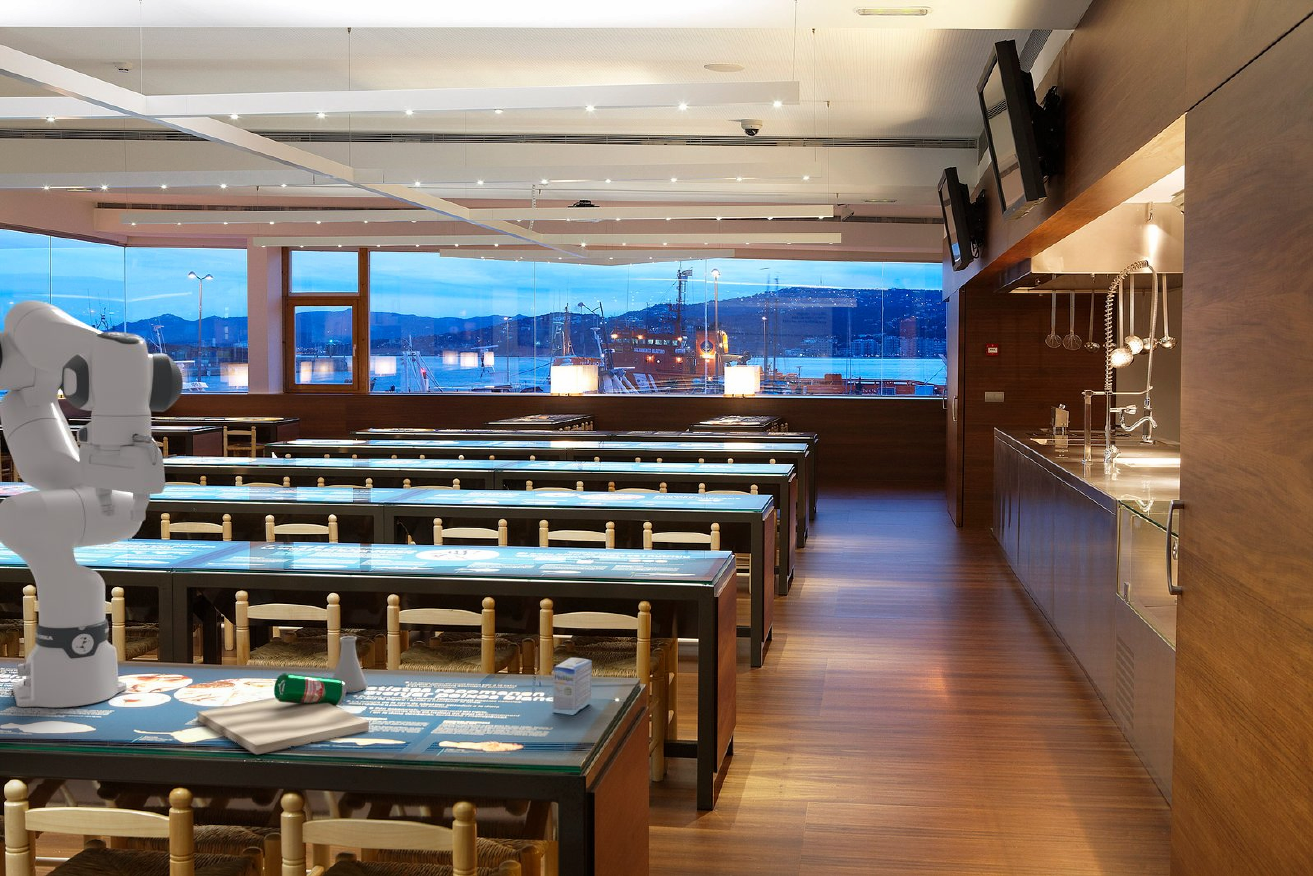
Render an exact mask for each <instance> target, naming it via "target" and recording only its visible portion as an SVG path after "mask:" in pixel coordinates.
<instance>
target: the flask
mask: <svg viewBox="0 0 1313 876" xmlns="http://www.w3.org/2000/svg"><path fill="white" fill-rule="evenodd" d="M357 639H358V638H357V636H352V635H349V636H347V635H346V636H341V637H339V639H338V640H339V642H340V652H339V658H338V661H337V665H336V668H335V671H334V674H333V675H332V676H333V677H332V678H338V679H339V680H340V681H343V682H344V683H345V685H346V693H356V692H360V691H362V690H363V691H364V690H365V689H366V688H367V686H368V683H367V680H366V678H365V674H364V671H363V670H362V667H361V665H360V661H359V658H358V655H357V650H356V641H357Z"/></svg>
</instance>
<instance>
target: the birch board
mask: <svg viewBox="0 0 1313 876" xmlns="http://www.w3.org/2000/svg"><path fill="white" fill-rule="evenodd" d="M196 714H197V715H196V716H197V718H196V719H197V721H198V722H200V723H202V724H203V725H205V726H207V727H208V728H210V729H212V730H213V731H215V732H217V733H218V732H220V733H221V734H220V733H219V734H220V735H222V736H223V737H226V738H227V737H228V738H227V739H229V738H230V739H231V740H230V739H229V740H230V741H232V742H235V743H236V742H237V743H238V744H237V743H236V744H237V745H239V746H241V747H243V748H244V749H246V750H247V751H249V752H250V753H253V754H254V755H261V754H265V753H269V752H270V753H271V752H275V751H280V750H284V749H288V748H289V749H290V748H292V747H291V746H294V747H298V746H303V745H307V744H311V742H313V743H317V742H321V741H326V740H330V739H329V738H331V739H335V738H334V737H336V738H340V737H346V736H349V735H354V734H359V733H362V732H363V733H364V732H368V731H369V730H370V728H369V727H370V724H369V723H370V722H369V721H368V720H366V719H364V718H362V717H361V716H360V717H359V716H357V715H355V714H353V713H350V712H348V711H346V710H344V709H342V708H340V707H338V706H337V705H336V706H333V705H331V704H329V703H322V704H298V703H287V702H279V701H278V700H277V699H276V698H275V697H271V698H265V699H258V700H254V701H253V700H252V701H249V702H243V703H239V704H232V705H227V706H223V707H222V706H220V707H217V708H210V709H206V710H199V711H197V713H196Z"/></svg>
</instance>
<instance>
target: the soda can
mask: <svg viewBox="0 0 1313 876" xmlns="http://www.w3.org/2000/svg"><path fill="white" fill-rule="evenodd" d="M273 694H274V698H276V699H277V700H278V701H279V702H287V703H298V704H322V703H329V704H331V705H333V706H336V707H337V706H340V705H342V704H343V702H344V700H345V698H346V694H347V692H346V685H345V683H344V682H343V681H340V680H339V679H338V678H333V677H327V676H318V675H317V676H316V675H306V674H299V673H289V672H288V673H287V672H283V673H282V674H280V675H279V676H278V677H277V679H276V680H275V684H274V688H273Z"/></svg>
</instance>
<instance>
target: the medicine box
mask: <svg viewBox="0 0 1313 876" xmlns="http://www.w3.org/2000/svg"><path fill="white" fill-rule="evenodd" d="M592 662H593V661H592V660H591V659H587V658H581V657H580V658H579V657H569V658H567V659H566V660H564V661H562V662H561V663H559V664H556V665H555V666H553V679H552V680H553V682H552V683H553V686H552V710H553V709H558V710H576V709H577V708H579V707H580V706H581V705H583V704H584V703H585V702H586V701H588V700H590V699H592V673H593V671H592V666H593V665H592Z"/></svg>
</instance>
